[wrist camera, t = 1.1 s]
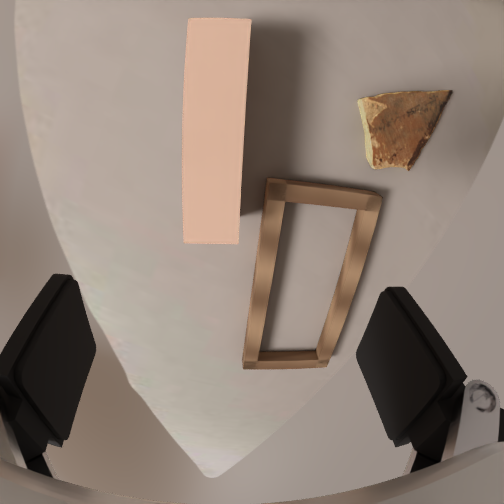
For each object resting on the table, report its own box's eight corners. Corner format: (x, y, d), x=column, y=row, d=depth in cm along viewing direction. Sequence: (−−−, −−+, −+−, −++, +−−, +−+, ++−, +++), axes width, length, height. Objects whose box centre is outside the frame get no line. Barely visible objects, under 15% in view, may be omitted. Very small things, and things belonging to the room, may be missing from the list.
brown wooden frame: (266, 177, 26) (269, 182, 24) (375, 191, 27) (382, 197, 25) (242, 359, 36) (243, 369, 34) (323, 358, 37) (326, 367, 36)
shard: (443, 89, 23) (454, 90, 21) (449, 159, 26) (460, 163, 25) (353, 95, 23) (362, 95, 21) (365, 175, 27) (374, 180, 25)
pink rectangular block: (196, 35, 19) (188, 18, 15) (245, 36, 20) (251, 19, 15) (190, 216, 27) (183, 243, 22) (235, 216, 27) (238, 244, 22)
